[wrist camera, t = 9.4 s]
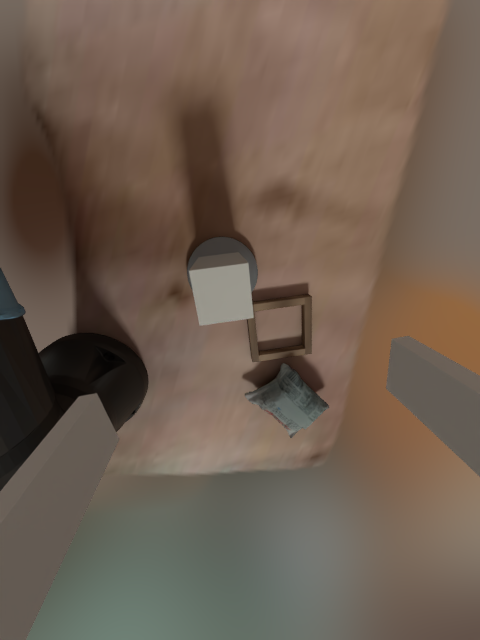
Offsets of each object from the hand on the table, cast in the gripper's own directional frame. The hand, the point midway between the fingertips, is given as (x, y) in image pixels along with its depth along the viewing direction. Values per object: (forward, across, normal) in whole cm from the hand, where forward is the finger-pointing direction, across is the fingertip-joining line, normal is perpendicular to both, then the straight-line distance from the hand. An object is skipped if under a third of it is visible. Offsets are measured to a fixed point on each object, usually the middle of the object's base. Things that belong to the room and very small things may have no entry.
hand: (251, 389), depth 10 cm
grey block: (+21, -1, +2) cm, 21 cm away
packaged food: (+22, +6, -20) cm, 31 cm away
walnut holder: (+22, +6, -8) cm, 24 cm away
